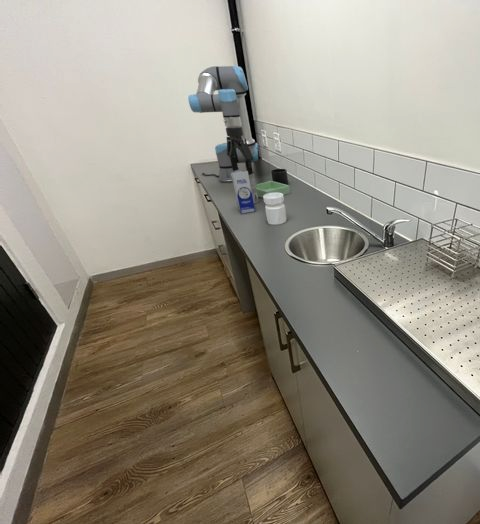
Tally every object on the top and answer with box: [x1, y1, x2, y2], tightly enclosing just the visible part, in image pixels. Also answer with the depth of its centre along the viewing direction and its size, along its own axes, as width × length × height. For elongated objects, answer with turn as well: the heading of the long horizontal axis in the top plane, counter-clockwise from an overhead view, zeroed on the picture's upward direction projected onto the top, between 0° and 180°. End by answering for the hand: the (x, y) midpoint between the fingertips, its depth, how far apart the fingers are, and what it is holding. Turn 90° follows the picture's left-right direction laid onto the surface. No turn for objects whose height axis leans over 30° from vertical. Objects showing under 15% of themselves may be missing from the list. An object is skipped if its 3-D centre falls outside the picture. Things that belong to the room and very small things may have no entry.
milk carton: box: [231, 169, 256, 215], centre depth 141 cm, size 7×7×20 cm
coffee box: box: [234, 170, 259, 205], centre depth 154 cm, size 9×6×16 cm
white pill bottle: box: [262, 193, 287, 226], centre depth 131 cm, size 9×9×12 cm
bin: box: [256, 180, 291, 199], centre depth 170 cm, size 18×16×4 cm
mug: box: [270, 168, 289, 185], centre depth 186 cm, size 9×12×9 cm
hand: (242, 172), depth 150 cm, fingers open, 13 cm apart
